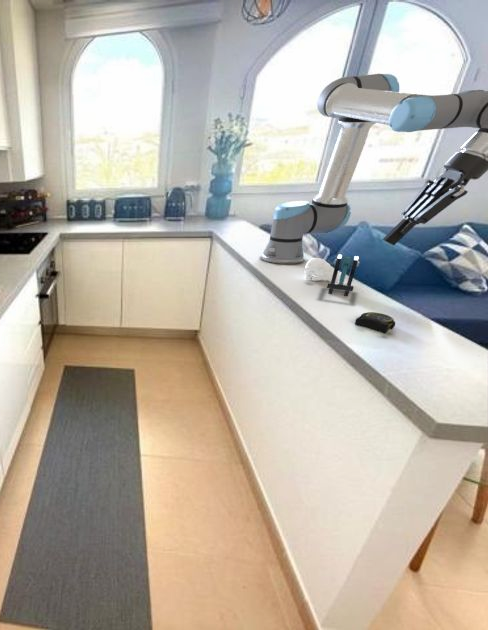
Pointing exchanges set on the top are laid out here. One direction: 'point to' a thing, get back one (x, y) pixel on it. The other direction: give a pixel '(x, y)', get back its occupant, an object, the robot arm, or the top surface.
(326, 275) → the white lumpy piece
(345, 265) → the lever
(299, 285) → the top surface
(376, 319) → the tape measure
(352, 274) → the bracket
